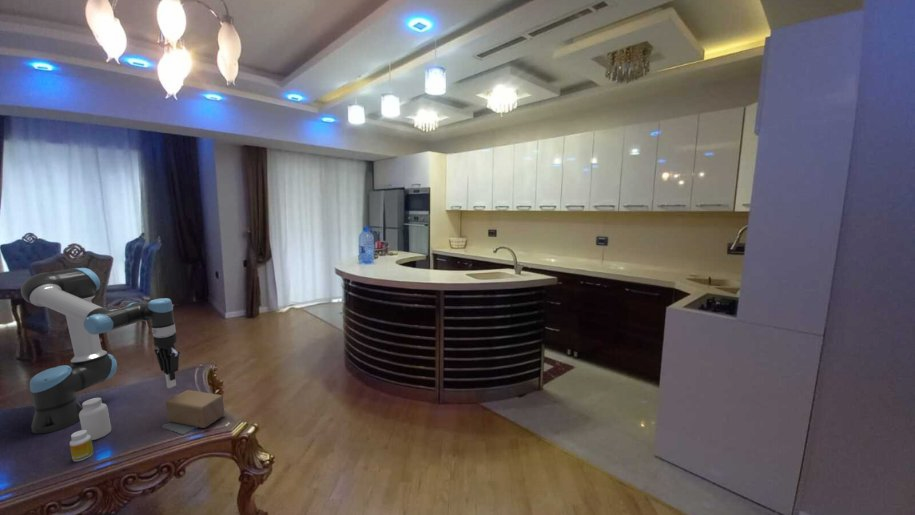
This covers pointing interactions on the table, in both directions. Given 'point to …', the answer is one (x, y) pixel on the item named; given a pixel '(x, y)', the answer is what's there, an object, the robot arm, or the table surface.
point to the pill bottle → (95, 418)
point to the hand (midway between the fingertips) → (171, 386)
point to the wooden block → (195, 408)
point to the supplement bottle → (81, 445)
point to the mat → (178, 427)
